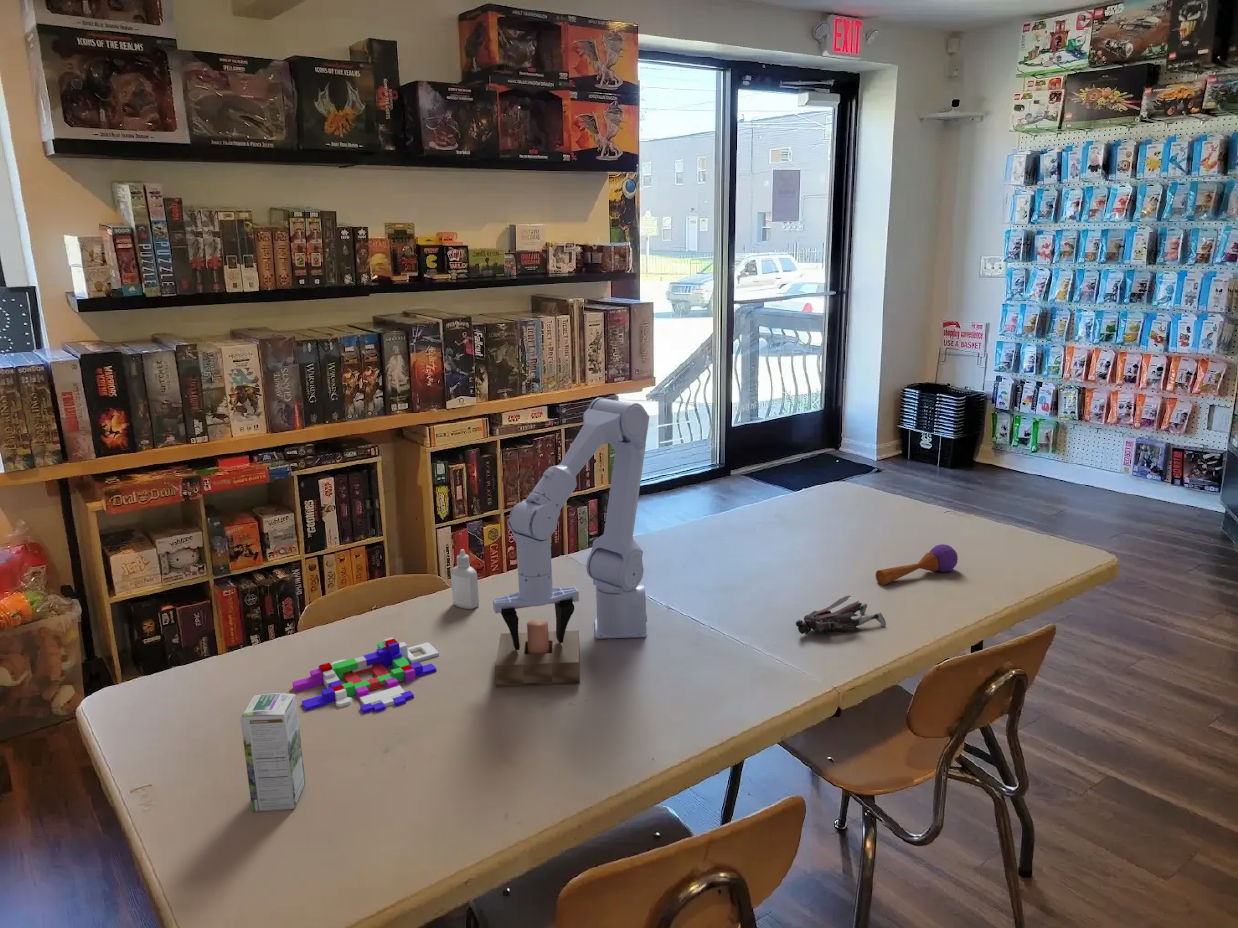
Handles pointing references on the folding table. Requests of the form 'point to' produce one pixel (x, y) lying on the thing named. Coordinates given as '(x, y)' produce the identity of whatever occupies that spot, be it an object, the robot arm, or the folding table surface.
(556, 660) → the socket block
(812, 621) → the action figure
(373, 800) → the folding table surface
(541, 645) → the pin
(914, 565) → the purple and brown maraca
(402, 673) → the building block set
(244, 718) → the syrup box
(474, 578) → the eye dropper bottle
